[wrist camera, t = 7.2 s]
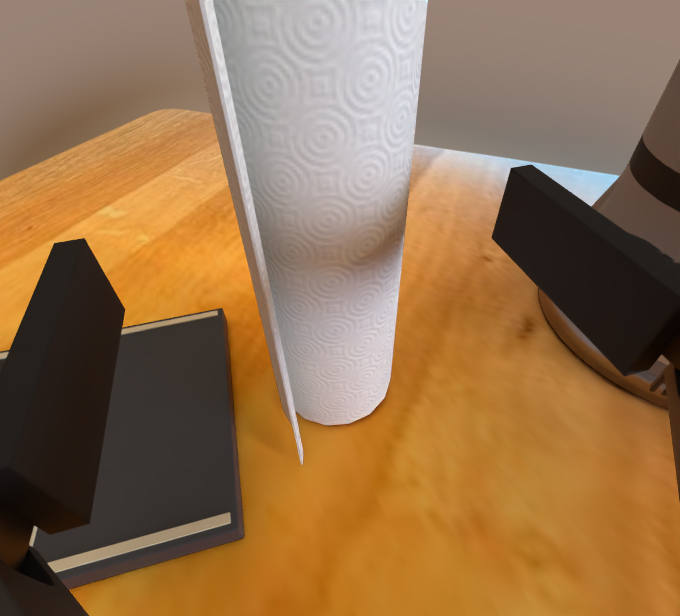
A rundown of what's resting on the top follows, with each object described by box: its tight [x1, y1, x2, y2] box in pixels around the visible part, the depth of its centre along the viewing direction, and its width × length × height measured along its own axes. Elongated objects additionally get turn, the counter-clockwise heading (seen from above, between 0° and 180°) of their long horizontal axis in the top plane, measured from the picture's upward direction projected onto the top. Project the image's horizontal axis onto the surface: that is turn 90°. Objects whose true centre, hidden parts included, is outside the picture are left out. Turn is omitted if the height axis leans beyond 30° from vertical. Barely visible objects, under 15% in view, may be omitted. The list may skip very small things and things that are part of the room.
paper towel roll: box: [185, 0, 428, 465], centre depth 14 cm, size 7×6×21 cm
